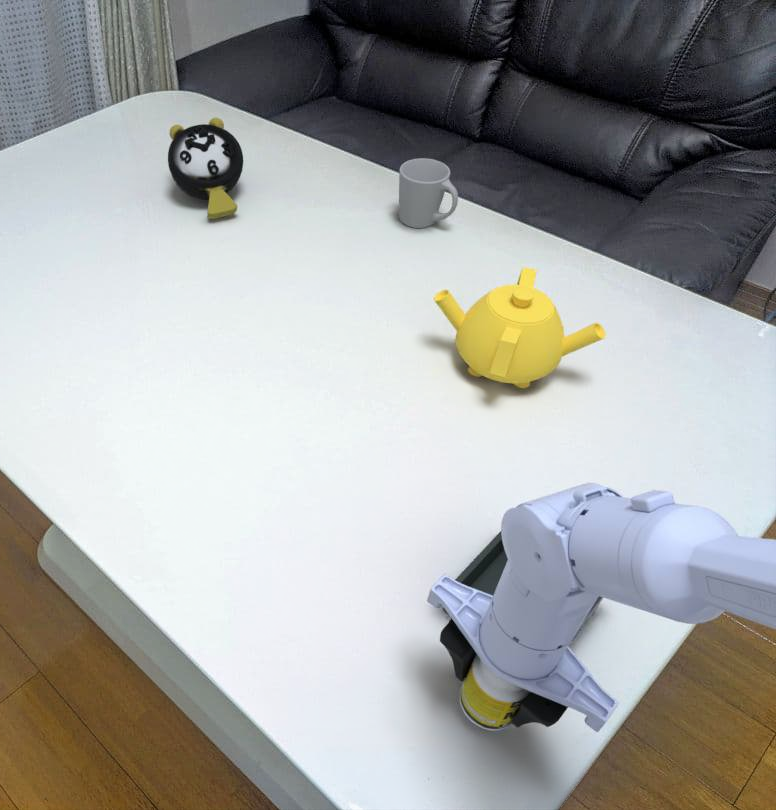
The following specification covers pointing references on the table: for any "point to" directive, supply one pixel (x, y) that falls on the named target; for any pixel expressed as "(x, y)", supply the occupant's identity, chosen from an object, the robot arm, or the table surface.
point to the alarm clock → (206, 164)
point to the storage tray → (494, 571)
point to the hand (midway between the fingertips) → (492, 693)
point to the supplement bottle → (489, 698)
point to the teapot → (513, 332)
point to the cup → (424, 192)
